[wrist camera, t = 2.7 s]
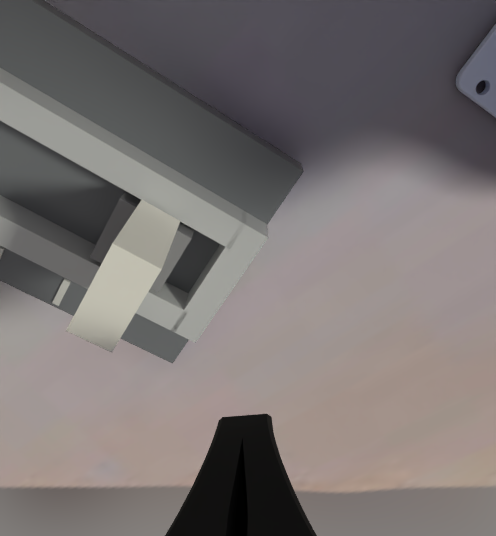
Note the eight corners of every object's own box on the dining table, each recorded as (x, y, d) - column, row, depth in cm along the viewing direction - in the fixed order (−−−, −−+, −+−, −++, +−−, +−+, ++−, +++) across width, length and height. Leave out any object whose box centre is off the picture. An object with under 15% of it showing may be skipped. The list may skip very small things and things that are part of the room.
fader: (200, 216, 19) (182, 280, 14) (160, 282, 20) (131, 361, 16) (133, 178, 18) (90, 231, 13) (96, 249, 20) (45, 321, 15)
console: (300, 163, 19) (307, 181, 17) (176, 348, 24) (167, 382, 21) (-157, -127, 15) (-230, -155, 13) (-208, 160, 20) (-270, 177, 17)
